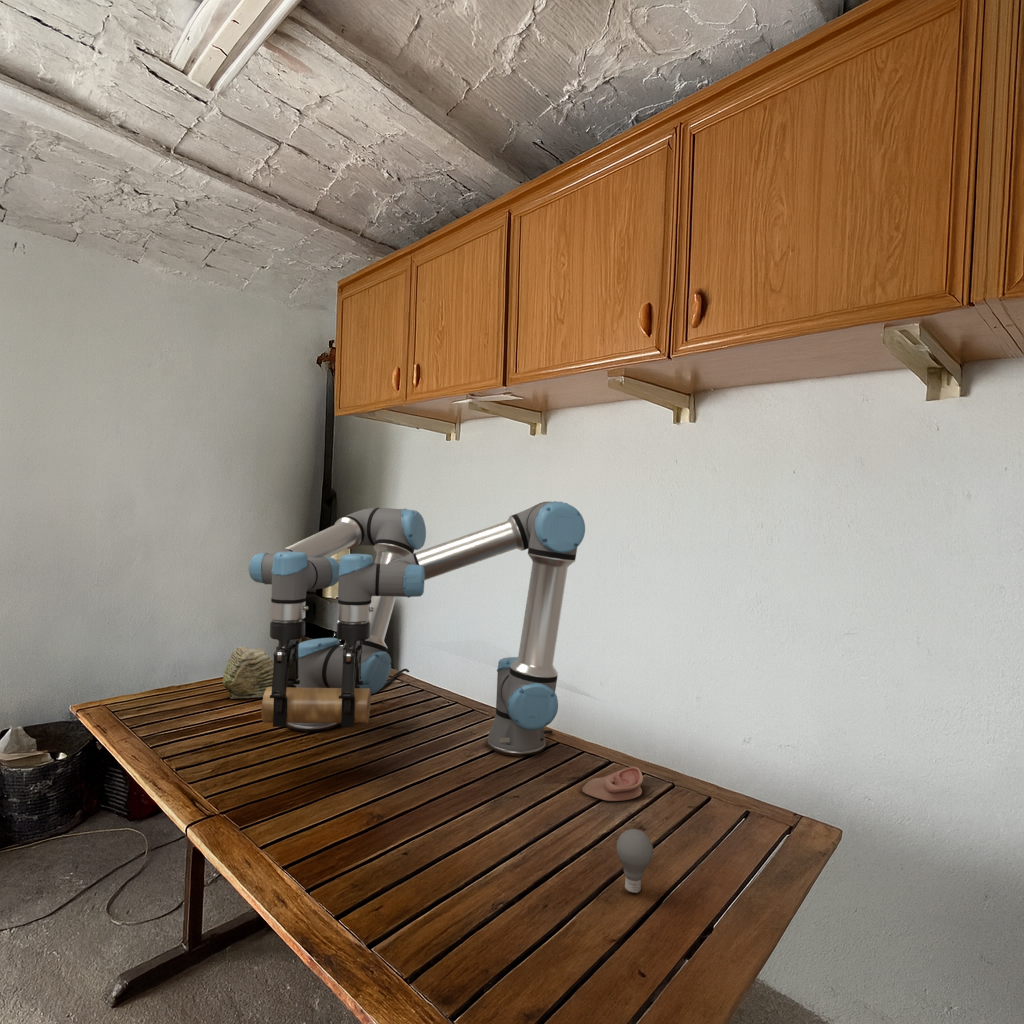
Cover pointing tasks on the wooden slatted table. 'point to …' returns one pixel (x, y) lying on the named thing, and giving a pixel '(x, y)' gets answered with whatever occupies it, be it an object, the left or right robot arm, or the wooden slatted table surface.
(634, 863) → the light bulb
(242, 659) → the fossil
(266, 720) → the tan wooden cylinder
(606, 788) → the anatomical model
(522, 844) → the wooden slatted table surface
